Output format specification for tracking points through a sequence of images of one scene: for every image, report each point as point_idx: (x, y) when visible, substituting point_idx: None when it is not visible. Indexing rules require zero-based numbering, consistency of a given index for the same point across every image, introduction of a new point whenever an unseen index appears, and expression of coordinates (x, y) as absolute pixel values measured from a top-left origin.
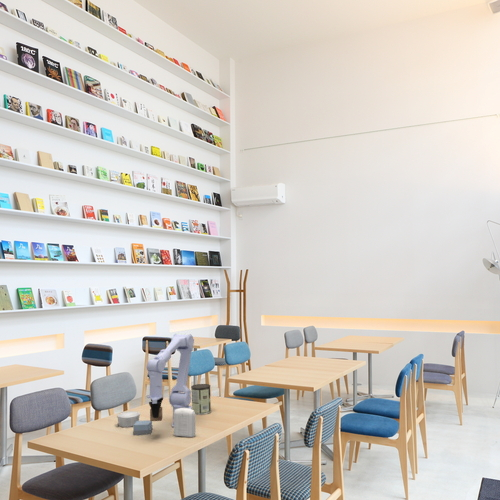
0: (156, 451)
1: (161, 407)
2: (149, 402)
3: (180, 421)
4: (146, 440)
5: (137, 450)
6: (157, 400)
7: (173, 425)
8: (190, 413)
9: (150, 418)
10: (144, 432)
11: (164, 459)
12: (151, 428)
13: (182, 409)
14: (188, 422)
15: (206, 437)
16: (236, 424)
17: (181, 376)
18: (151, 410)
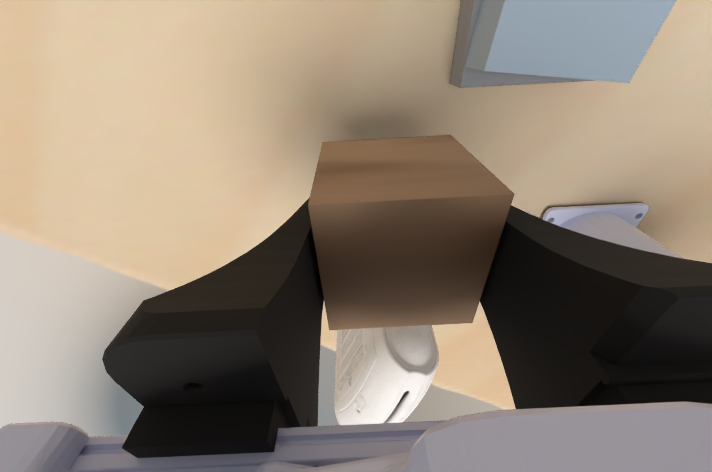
0: (107, 182)
1: (434, 320)
2: (177, 345)
3: (355, 329)
4: (304, 75)
5: (69, 42)
6: (549, 374)
7: (557, 217)
8: (337, 416)
9: (322, 156)
10: (464, 23)
11: (17, 235)
12: (523, 83)
13: (367, 416)
14: (338, 355)
15: (334, 339)
16: (460, 391)
17: None
18: (314, 222)
